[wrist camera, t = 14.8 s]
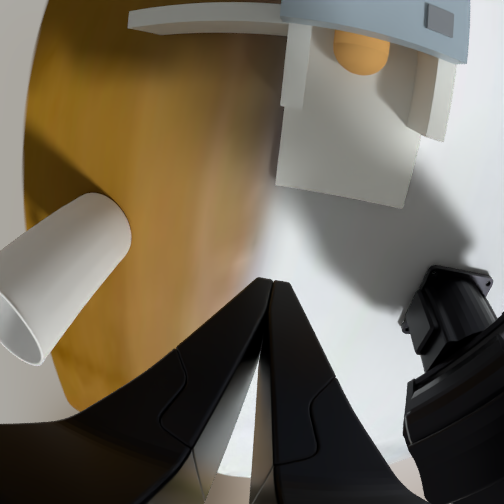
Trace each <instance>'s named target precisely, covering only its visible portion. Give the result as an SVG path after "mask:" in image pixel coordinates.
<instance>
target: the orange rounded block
mask: <svg viewBox="0 0 504 504" xmlns="http://www.w3.org/2000/svg"><path fill="white" fill-rule="evenodd" d="M389 48H390V42H388V41H384V40H380V39H377V38H373V37H368V36H364V35H360V34H355V33H351V32H346V31H341V30H335V34H334V43H333V50H334V55H335V57H336V59H337V61H338V62H339V64H340V65H341V66H342V67H343V68H345V69H346V70H347V71H349V72H351V73H353V74H357V75H371V74H374V73H377V72H378V71H380V70H381V69H382V68H383V67H384V66H385V64H386V62H387V60H388V56H389Z"/></svg>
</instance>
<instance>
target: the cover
mask: <svg viewBox="0 0 504 504" xmlns="http://www.w3.org/2000/svg"><path fill="white" fill-rule="evenodd" d="M280 18H281V20H282V22H286V23H295V24H303V25H311V26H317V27H324V28H330V29H335V30H341V31H346V32H351V33H355V34H360V35H364V36H368V37H373V38H377V39H380V40H384V41H388V42H391V43H395V44H398V45H402V46H405V47H408V48H411V49H414V50H417V51H420V52H423V53H426V54H429V55H432V56H434V57H437V58H440V59H442V60H445V61H447V62H450V63H452V64H467V57H468V45H469V29H470V0H281V9H280Z"/></svg>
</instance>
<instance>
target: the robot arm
mask: <svg viewBox="0 0 504 504" xmlns="http://www.w3.org/2000/svg"><path fill="white" fill-rule="evenodd" d="M434 271H436V272H435V273H434V274H432V273H433V272H434ZM487 282H488V283H487ZM492 284H493V280H492V278H491V277H490V276H488V275H483V274H478V273H473V272H468V271H463V270H458V269H453V268H447V267H442V266H437V265H433V266H431V267H430V268H429V269H428V271H427V273H426V275H425V278H424V280H423V282H422V284H421V287H420V289H419V290H418V291H417V292H416V294H415V296H414V299H413V301H412V303H411V305H410V307H409V309H408V311H407V313H406V315H405V316H406V318H405V320H404V322H403V324H402V326H401V328H402V332H403V333H405V334H411V338H412V342H413V346H414V350H415V352H416V354H417V355H421V359H422V363H423V367H424V371H425V373H424V374H423V375H421V376H420V377H418V378H416V379H413V380H411V381H409V382H408V384H407V396H406V406H405V414H404V423H403V436H404V438H405V441H406V444H407V447H408V450H409V452H410V454H411V455H412V457H413V458H414V460H415V463H416V465H417V468H418V470H419V473H420V477H421V481H422V486H423V491H424V496H425V498H426V500H427V501H428V502H427V501H425V500H423V499H422V498H420V497H418V496H416V495H415V494H413V493H412V492H411V491H410V490H408V489H407V488H406V487H405V486H404V485H403V484H402V483H401V482H400V481H399V480H398V478H397V477H396V476H395V474H394V473H393V472H392V470H391V469H390V467H389V465H388V464H387V462H386V461H385V459H384V458H383V456H382V455H381V453H380V452H379V450H378V449H377V447H376V446H375V444H374V442H373V441H372V439H371V438H370V436H369V435H368V433H367V432H366V430H365V429H364V427H363V425H362V424H361V422H360V421H359V419H358V417H357V416H356V414H355V412H354V411H353V409H352V407H351V405H350V403H349V401H348V400H347V398H346V396H345V394H344V392H343V390H342V388H341V386H340V383H339V381H338V379H337V378H335V377H336V376H335V373H334V371H333V369H332V367H331V365H330V363H329V361H328V359H327V357H326V355H325V353H324V351H323V349H322V347H321V345H320V343H319V341H318V339H317V337H316V334H315V332H314V330H313V328H312V326H311V324H310V322H309V320H308V318H307V316H306V314H305V312H304V310H303V308H302V306H301V304H300V302H299V300H298V298H297V296H296V294H295V292H294V290H293V288H292V286H291V284H290V283H289V282H284V281H278V280H275V281H274V282H273V281H272V280H271V279H266V278H260V277H258V278H256V279H255V280H254V281H252V282H251V283H250V284H249V285H248V286H247V287H246V288H244V289H243V290H242V291H241V292H240V293H239V294H238V295H236V296H235V297H234V298H233V299H232V300H231V301H229V302H228V303H227V304H226V305H225V306H224V307H223V308H221V309H220V310H219V311H218V312H217V313H216V314H214V315H213V316H212V317H211V318H210V319H209V320H207V321H206V322H205V323H204V324H203V325H202V326H200V327H199V328H198V329H197V330H196V331H194V332H193V333H192V334H191V335H190V336H189V337H187V338H186V339H185V340H184V341H183V342H181V343H180V344H179V345H178V346H177V347H176V349H173V350H172V351H171V352H169V353H168V354H167V355H166V356H165V357H163V358H162V359H161V360H160V361H158V362H157V363H156V364H154V365H153V366H152V367H151V368H149V369H148V370H147V371H145V372H144V373H142V374H141V375H139V376H138V377H136V378H135V379H133V380H132V381H130V382H129V383H127V384H126V385H124V386H123V387H121V388H119V389H118V390H116V391H115V392H113V393H111V394H110V395H108V396H106V397H105V398H103V399H102V400H100V401H98V402H97V403H95V404H93V405H92V406H90V407H88V408H87V409H85V410H83V411H81V412H80V413H78V414H75V415H74V416H71V417H68V418H65V419H62V420H58V421H52V422H41V423H40V422H39V423H20V424H0V504H204V501H205V500H206V498H207V495H208V493H209V490H210V488H211V485H212V483H213V481H214V478H215V475H216V473H217V471H218V468H219V466H220V463H221V461H222V458H223V455H224V453H225V450H226V448H227V445H228V443H229V440H230V437H231V435H232V432H233V430H234V427H235V424H236V422H237V419H238V416H239V414H240V411H241V408H242V405H243V403H244V400H245V397H246V395H247V392H248V389H249V386H250V384H251V381H252V378H253V375H254V372H255V369H256V366H257V363H258V360H259V367H258V382H257V398H256V414H255V429H254V443H253V458H252V472H251V485H250V486H251V487H250V499H249V504H450V503H451V504H504V312H503V313H502V315H501V316H500V317H499V318H497V317H496V315H495V313H494V311H493V309H492V307H491V306H490V304H489V302H488V300H487V299H486V296H487V294H488V292H489V290H490V288H491V286H492ZM407 327H408V328H407ZM260 351H261V352H260ZM259 356H260V358H259Z"/></svg>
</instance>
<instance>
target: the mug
mask: <svg viewBox="0 0 504 504" xmlns="http://www.w3.org/2000/svg"><path fill="white" fill-rule="evenodd" d="M130 245H131V230H130V226H129V223H128V220H127V218H126V216H125V214H124V213H123V211H122V210H121V209H120V207H119V206H118V205H117V204H116V203H115V202H114V201H112V200H111V199H110V198H108V197H106V196H104V195H102V194H98V193H87V194H84V195H82V196H80V197H78V198H77V199H75V200H73V201H72V202H70V203H68V204H67V205H65V206H63V207H61V208H60V209H58V210H57V211H55V212H54V213H52V214H51V215H49V216H48V217H46V218H45V219H44V220H42V221H41V222H39V223H38V224H36V225H35V226H33V227H32V228H31V229H29V230H28V231H26V232H25V233H24V234H22V235H21V236H19V237H18V238H17V239H15V240H14V241H13V242H11V243H10V244H9V245H7V246H6V247H5V248H3V249H2V250H1V251H0V343H1V344H2V345H3V346H4V347H5V348H6V349H7V350H8V351H10V352H11V353H12V354H13V355H15V356H16V357H17V358H19V359H20V360H22V361H24V362H26V363H28V364H31V365H35V366H39V365H41V364H42V363H43V362H44V360H45V358H46V357H47V356H48V354H49V353H50V352H51V350H52V349H53V348H54V346H55V345H56V344H57V342H58V341H59V339H60V338H61V337H62V335H63V334H64V333H65V331H66V330H67V328H68V327H69V326H70V324H71V323H72V322H73V320H74V319H75V318H76V316H77V315H78V314H79V312H80V311H81V310H82V308H83V307H84V306H85V304H86V303H87V302H88V301H89V299H90V298H91V297H92V296H93V294H94V293H95V292H96V290H97V289H98V288H99V287H100V286H101V284H102V283H103V282H104V281H105V279H106V278H107V277H108V276H109V275H110V273H111V272H112V271H113V270H114V268H115V267H116V266H117V265H118V263H119V262H120V261H121V260H122V259H123V257H124V256H125V255H126V254H127V252H128V250H129V248H130Z"/></svg>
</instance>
